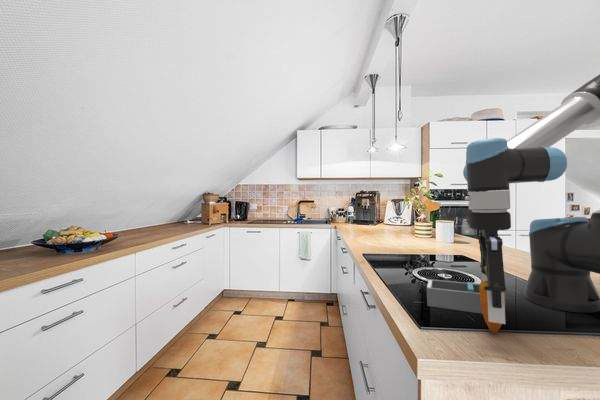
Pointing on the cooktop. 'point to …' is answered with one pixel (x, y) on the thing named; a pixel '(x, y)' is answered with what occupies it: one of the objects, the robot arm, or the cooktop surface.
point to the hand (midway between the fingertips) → (493, 311)
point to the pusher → (470, 287)
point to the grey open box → (453, 296)
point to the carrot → (484, 305)
